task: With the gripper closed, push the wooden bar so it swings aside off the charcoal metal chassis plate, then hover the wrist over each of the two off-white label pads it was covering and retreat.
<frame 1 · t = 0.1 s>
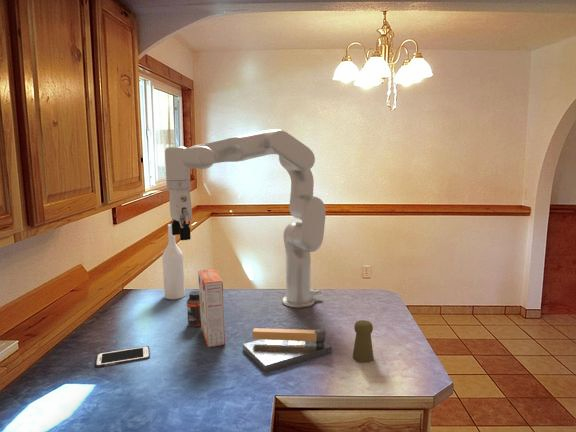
hand: (181, 237, 143), 31 cm above the kitchen counter, fingers open, 9 cm apart
wooden bar: (289, 334, 129), point 5 cm above the kitchen counter, hinge at 0.0°
chassis plate: (287, 351, 129), on the kitchen counter
bottle: (174, 296, 178), on the kitchen counter
cork: (362, 358, 125), on the kitchen counter
supplement bottle: (196, 324, 150), on the kitchen counter
cell phone: (123, 358, 127), on the kitchen counter
cracker box: (212, 338, 139), on the kitchen counter
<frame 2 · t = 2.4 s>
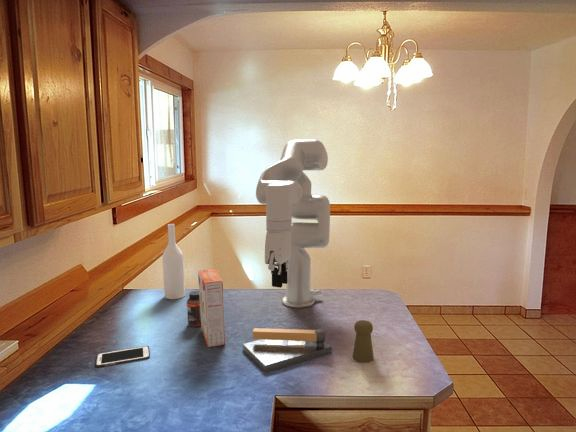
hand: (279, 284, 131), 19 cm above the kitchen counter, fingers open, 3 cm apart
nothing on the kitchen counter moved.
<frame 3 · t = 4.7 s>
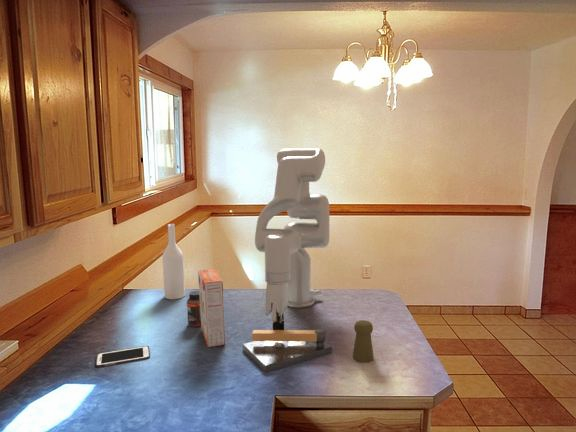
hand: (278, 333, 132), 4 cm above the kitchen counter, fingers closed
wooden bar: (289, 335, 129), point 5 cm above the kitchen counter, hinge at 3.9°, touching gripper
everything else where it was.
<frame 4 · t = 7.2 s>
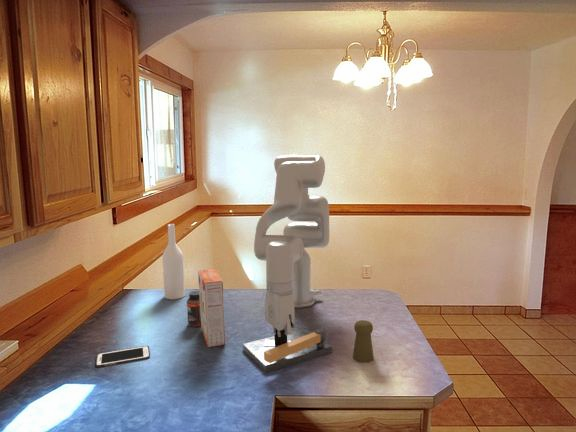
hand: (280, 347, 123), 4 cm above the kitchen counter, fingers closed
wooden bar: (297, 344, 122), point 5 cm above the kitchen counter, hinge at 46.2°, touching gripper
everything else where it was.
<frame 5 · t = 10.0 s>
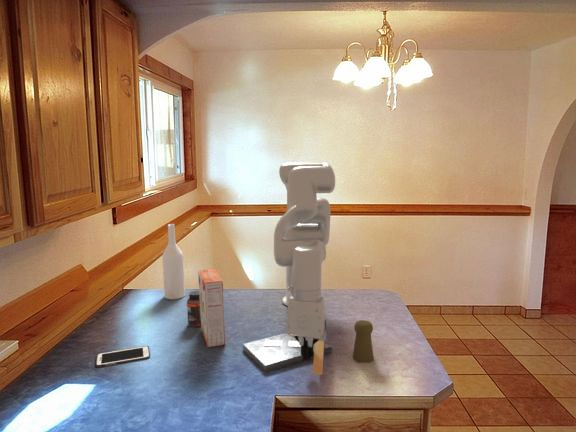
hand: (307, 358, 116), 4 cm above the kitchen counter, fingers closed
wooden bar: (319, 349, 119), point 5 cm above the kitchen counter, hinge at 89.6°
everything else where it was.
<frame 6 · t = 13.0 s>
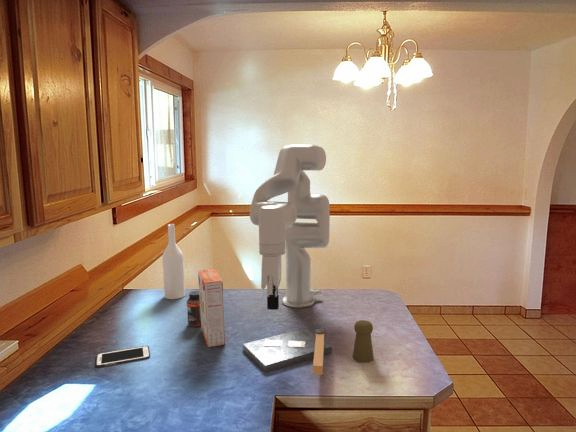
hand: (273, 308, 128), 13 cm above the kitchen counter, fingers closed
nothing on the kitchen counter moved.
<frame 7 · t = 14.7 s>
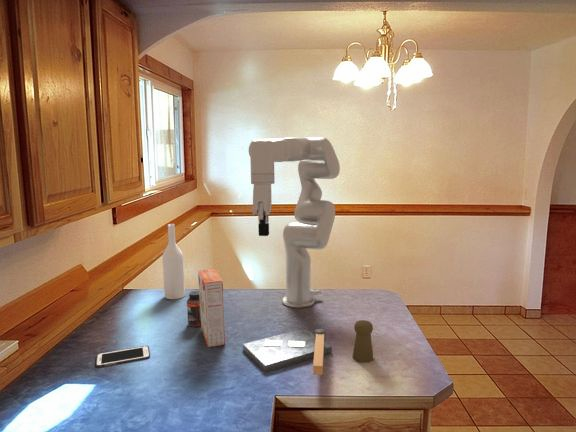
hand: (263, 235, 141), 32 cm above the kitchen counter, fingers closed
nothing on the kitchen counter moved.
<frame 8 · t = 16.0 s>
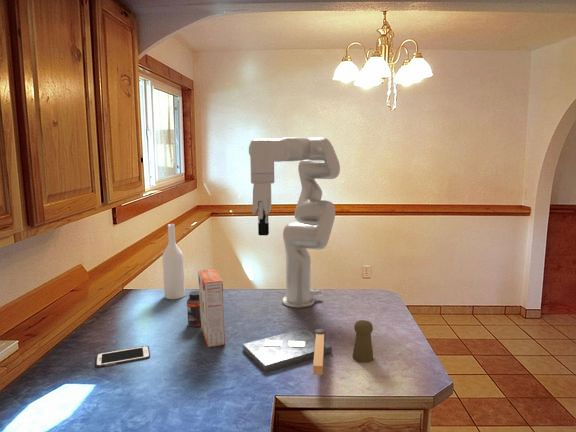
hand: (263, 234, 141), 32 cm above the kitchen counter, fingers closed
nothing on the kitchen counter moved.
at the end: wooden bar at +90° (first picture: +0°); wooden bar touching nothing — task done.
